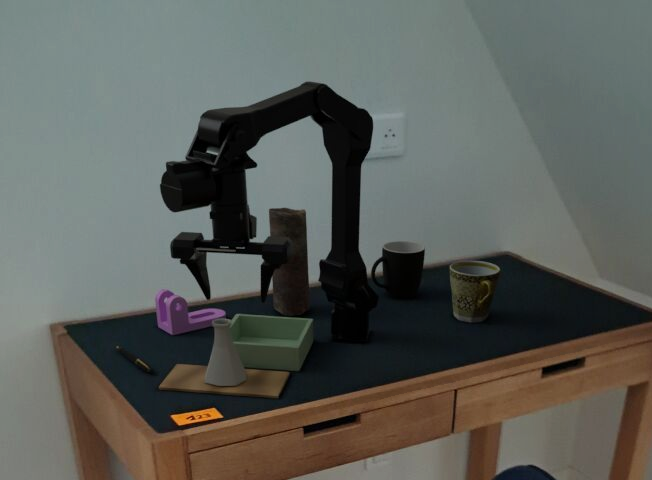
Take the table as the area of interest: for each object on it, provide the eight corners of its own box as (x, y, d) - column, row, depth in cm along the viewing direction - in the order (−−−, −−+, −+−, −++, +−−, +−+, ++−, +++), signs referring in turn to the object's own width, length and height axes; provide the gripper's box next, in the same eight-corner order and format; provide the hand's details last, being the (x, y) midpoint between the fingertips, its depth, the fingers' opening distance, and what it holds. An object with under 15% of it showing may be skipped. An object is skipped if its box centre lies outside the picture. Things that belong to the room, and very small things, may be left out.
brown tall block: (266, 308, 176) (261, 206, 165) (295, 302, 180) (293, 202, 169) (286, 319, 171) (283, 215, 160) (317, 312, 175) (316, 210, 164)
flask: (239, 389, 142) (235, 331, 136) (197, 385, 143) (192, 326, 137) (253, 373, 148) (250, 316, 142) (213, 368, 149) (208, 312, 143)
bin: (313, 341, 162) (313, 318, 160) (299, 371, 150) (298, 347, 148) (237, 335, 163) (236, 313, 161) (217, 365, 151) (215, 341, 149)
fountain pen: (113, 350, 156) (112, 342, 155) (119, 348, 156) (118, 340, 155) (149, 376, 146) (148, 368, 146) (155, 374, 147) (154, 366, 146)
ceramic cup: (438, 310, 178) (442, 262, 172) (482, 307, 181) (487, 259, 175) (463, 332, 168) (467, 281, 162) (509, 328, 170) (515, 278, 165)
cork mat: (289, 374, 149) (289, 371, 148) (277, 398, 140) (277, 395, 140) (177, 366, 150) (176, 363, 150) (158, 389, 142) (158, 386, 142)
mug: (408, 285, 191) (411, 239, 186) (430, 297, 185) (433, 249, 179) (361, 292, 186) (362, 245, 181) (381, 305, 180) (382, 256, 174)
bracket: (172, 335, 162) (168, 299, 159) (158, 326, 166) (154, 291, 162) (231, 321, 170) (229, 286, 166) (216, 313, 173) (213, 278, 169)
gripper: (297, 192, 139) (300, 288, 148) (185, 187, 140) (194, 282, 149) (284, 209, 130) (288, 310, 138) (163, 203, 131) (175, 304, 140)
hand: (236, 300), depth 142 cm, fingers open, 9 cm apart
